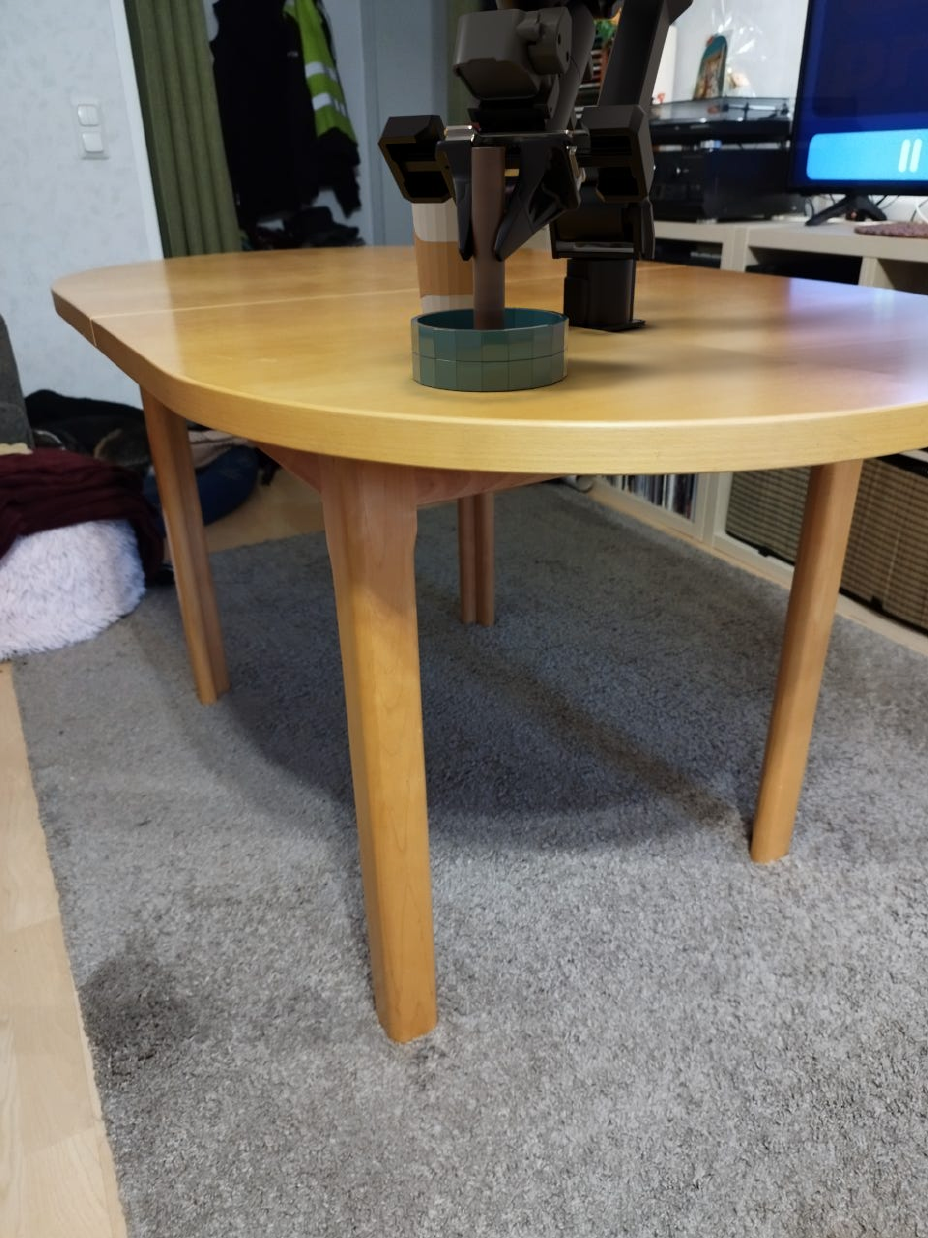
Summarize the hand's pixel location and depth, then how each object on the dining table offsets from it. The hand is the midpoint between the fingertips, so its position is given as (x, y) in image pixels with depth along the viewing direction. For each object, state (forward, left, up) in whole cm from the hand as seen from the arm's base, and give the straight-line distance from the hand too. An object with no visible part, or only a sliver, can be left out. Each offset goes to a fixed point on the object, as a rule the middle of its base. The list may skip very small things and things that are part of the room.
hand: (480, 256), depth 59 cm
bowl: (-1, -1, -9) cm, 9 cm away
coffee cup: (-14, -20, -9) cm, 26 cm away
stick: (-1, -1, -8) cm, 8 cm away
